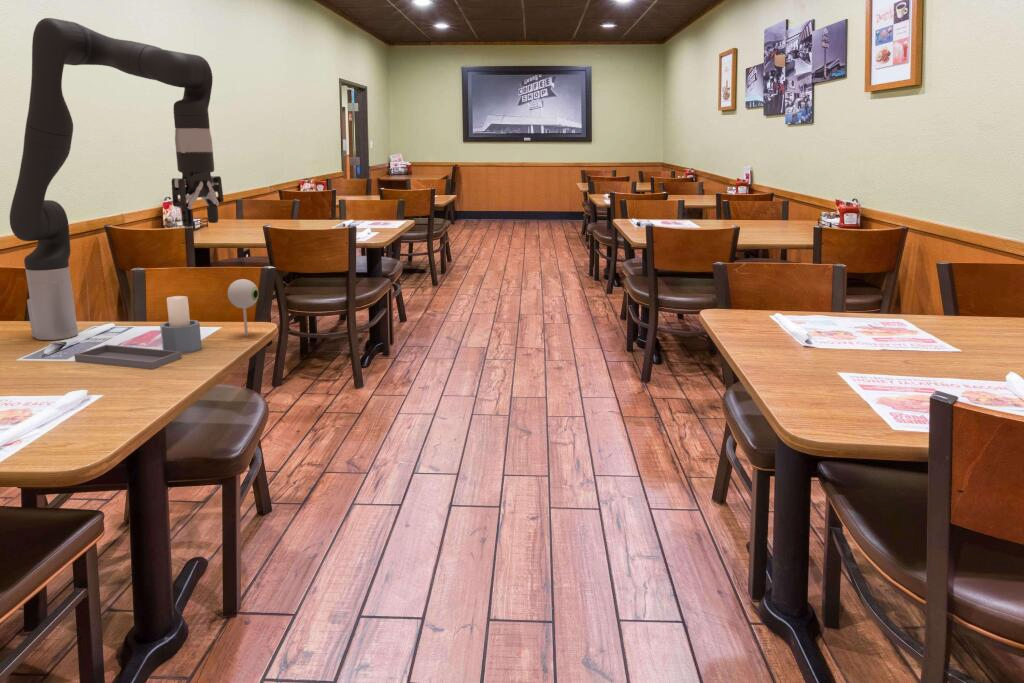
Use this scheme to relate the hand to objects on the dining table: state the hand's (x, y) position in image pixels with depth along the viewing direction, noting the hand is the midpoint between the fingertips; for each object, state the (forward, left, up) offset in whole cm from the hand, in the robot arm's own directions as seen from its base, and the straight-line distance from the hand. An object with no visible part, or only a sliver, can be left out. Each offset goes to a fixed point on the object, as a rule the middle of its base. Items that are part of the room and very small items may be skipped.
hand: (201, 224), depth 173 cm
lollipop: (+1, +12, -30) cm, 32 cm away
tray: (-10, -15, -29) cm, 34 cm away
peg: (-5, -4, -28) cm, 29 cm away
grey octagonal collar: (-5, -4, -29) cm, 30 cm away
